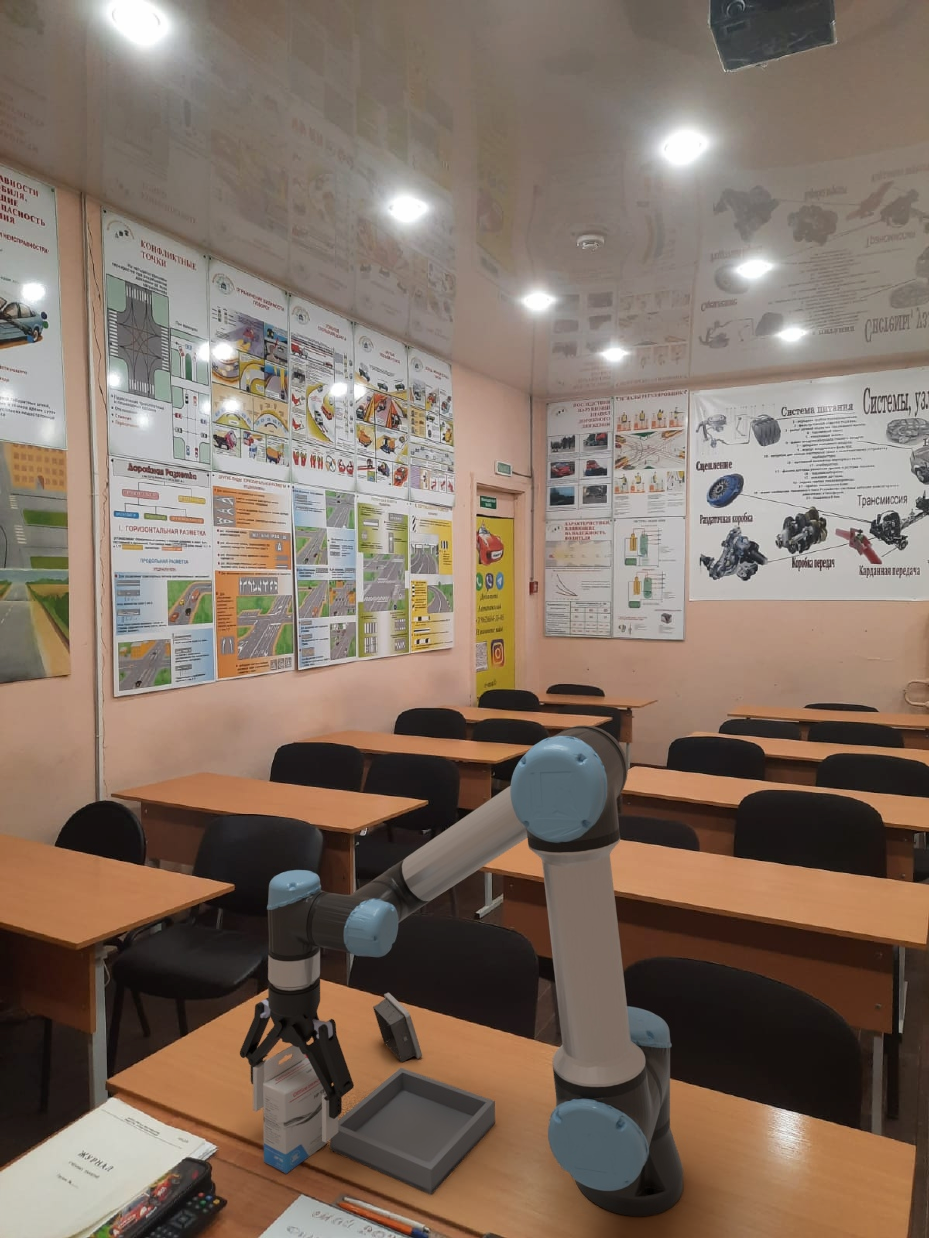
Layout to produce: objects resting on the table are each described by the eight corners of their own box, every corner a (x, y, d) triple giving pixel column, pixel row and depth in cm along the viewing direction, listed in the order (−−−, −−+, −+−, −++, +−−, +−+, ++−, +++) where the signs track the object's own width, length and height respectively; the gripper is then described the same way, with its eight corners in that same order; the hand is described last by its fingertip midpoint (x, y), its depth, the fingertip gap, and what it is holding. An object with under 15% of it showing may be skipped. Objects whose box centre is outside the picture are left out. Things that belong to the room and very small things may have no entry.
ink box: (285, 1175, 117) (284, 1073, 116) (262, 1162, 119) (261, 1062, 119) (328, 1143, 123) (327, 1046, 123) (306, 1131, 126) (305, 1036, 126)
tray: (494, 1122, 128) (494, 1100, 128) (431, 1194, 113) (431, 1169, 113) (401, 1088, 137) (400, 1067, 137) (330, 1149, 122) (330, 1126, 122)
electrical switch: (423, 1059, 146) (418, 1009, 146) (397, 1070, 144) (392, 1019, 143) (400, 1035, 154) (395, 987, 154) (375, 1045, 152) (370, 997, 151)
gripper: (377, 989, 118) (377, 1135, 118) (252, 950, 131) (252, 1082, 131) (343, 1012, 111) (344, 1165, 112) (215, 968, 124) (216, 1106, 125)
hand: (294, 1120), depth 121 cm, fingers open, 13 cm apart
